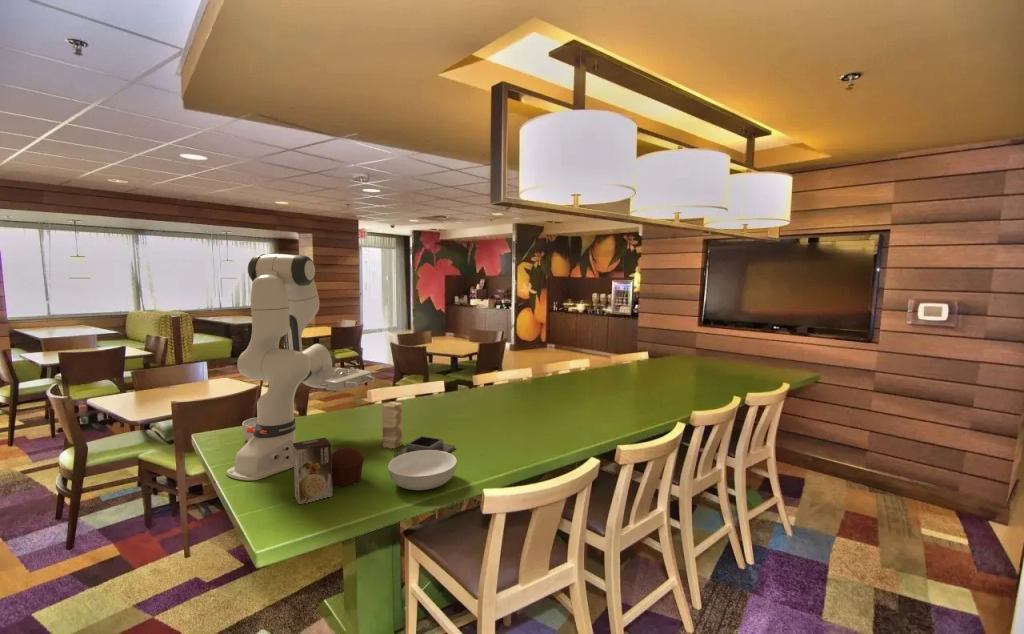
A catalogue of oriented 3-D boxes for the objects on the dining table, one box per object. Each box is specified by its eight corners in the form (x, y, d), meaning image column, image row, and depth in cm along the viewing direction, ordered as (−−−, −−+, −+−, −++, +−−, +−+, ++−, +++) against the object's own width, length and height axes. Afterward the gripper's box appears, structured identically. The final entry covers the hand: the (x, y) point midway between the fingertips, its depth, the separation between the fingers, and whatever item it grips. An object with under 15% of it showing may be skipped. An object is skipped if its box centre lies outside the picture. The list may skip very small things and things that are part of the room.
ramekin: (287, 436, 183) (287, 419, 183) (255, 446, 172) (254, 428, 171) (268, 430, 190) (267, 414, 189) (235, 439, 179) (234, 422, 178)
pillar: (394, 448, 171) (393, 406, 170) (382, 446, 173) (382, 405, 171) (401, 444, 176) (401, 403, 174) (391, 442, 177) (390, 401, 176)
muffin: (365, 486, 140) (365, 454, 139) (326, 491, 136) (325, 459, 135) (362, 471, 151) (362, 441, 150) (326, 475, 147) (325, 445, 146)
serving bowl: (426, 464, 157) (426, 444, 157) (470, 481, 144) (470, 460, 143) (374, 484, 141) (373, 463, 141) (418, 506, 128) (418, 482, 127)
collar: (432, 463, 157) (432, 452, 157) (393, 456, 163) (393, 445, 163) (455, 448, 172) (455, 437, 172) (418, 442, 178) (418, 432, 178)
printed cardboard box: (327, 488, 138) (326, 436, 137) (333, 497, 133) (332, 442, 132) (294, 496, 133) (292, 442, 131) (298, 505, 127) (297, 449, 126)
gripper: (316, 376, 172) (346, 379, 167) (354, 366, 191) (381, 369, 186) (317, 393, 172) (347, 396, 167) (354, 381, 191) (382, 384, 186)
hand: (365, 382), depth 177 cm, fingers open, 8 cm apart
